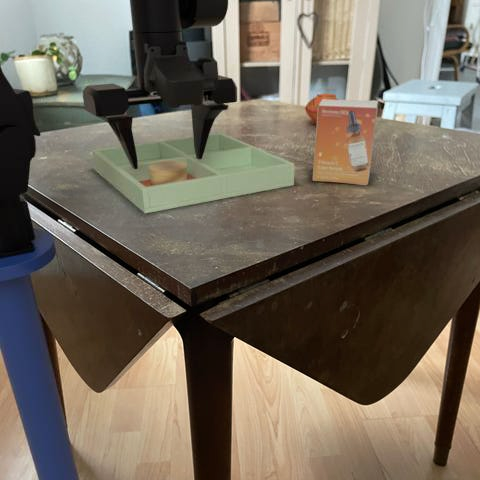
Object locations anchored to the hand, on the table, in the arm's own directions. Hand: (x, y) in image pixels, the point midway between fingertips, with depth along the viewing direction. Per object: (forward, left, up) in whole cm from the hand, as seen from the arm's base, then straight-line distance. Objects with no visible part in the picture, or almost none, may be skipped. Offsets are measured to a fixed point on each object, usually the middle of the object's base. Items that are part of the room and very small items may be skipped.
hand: (167, 163), depth 72 cm
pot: (+43, +23, -4) cm, 49 cm away
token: (0, 0, -3) cm, 3 cm away
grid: (+5, +5, -4) cm, 9 cm away
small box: (+24, -7, -4) cm, 26 cm away
